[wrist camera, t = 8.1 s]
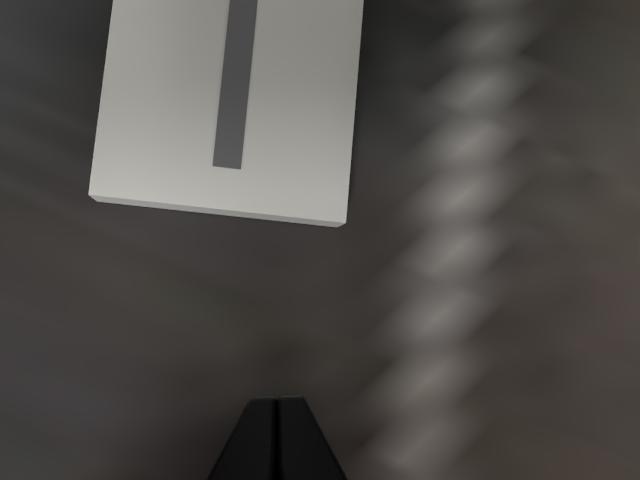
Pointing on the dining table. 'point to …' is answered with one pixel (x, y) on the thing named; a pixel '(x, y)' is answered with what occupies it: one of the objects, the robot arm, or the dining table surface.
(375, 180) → the dining table surface
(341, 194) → the fader deck
